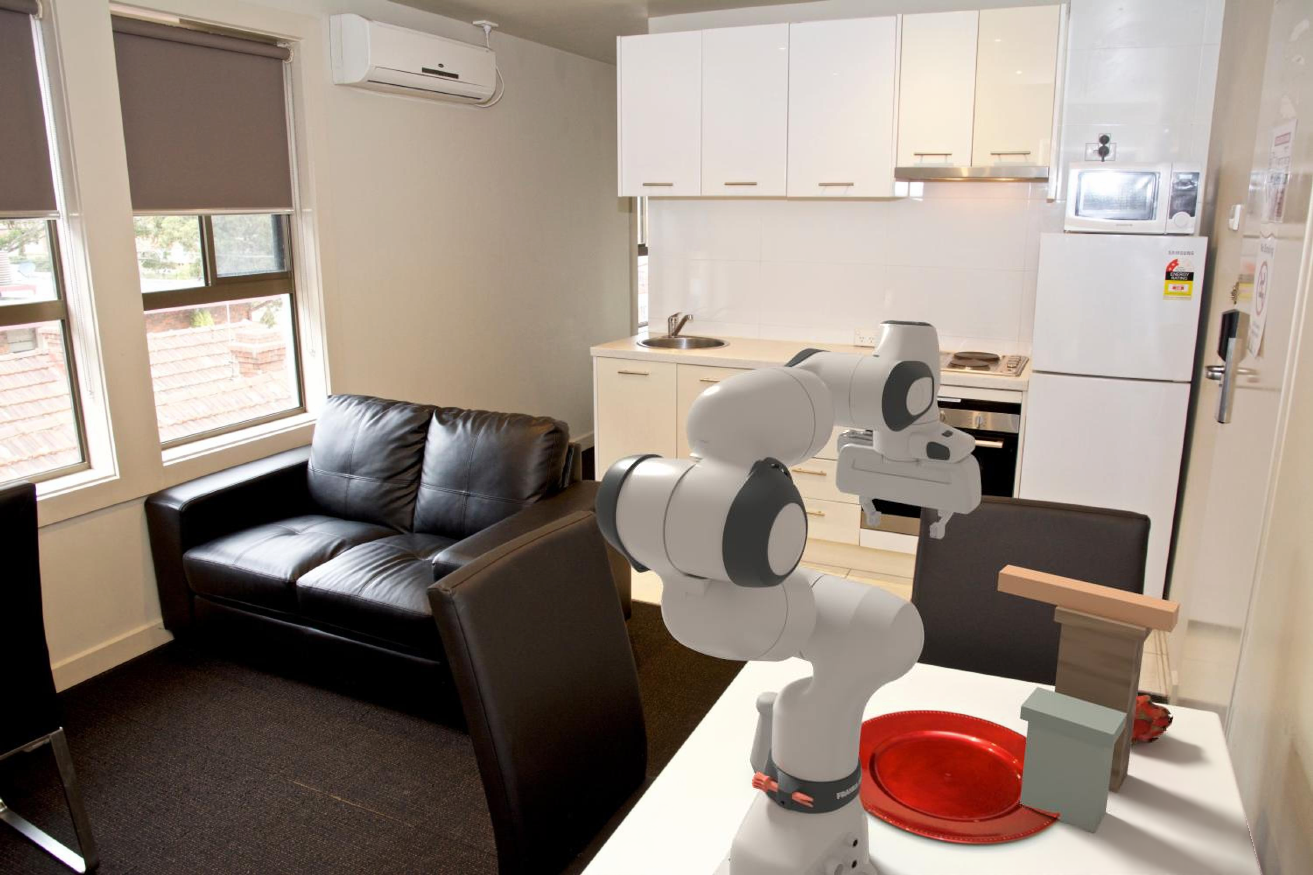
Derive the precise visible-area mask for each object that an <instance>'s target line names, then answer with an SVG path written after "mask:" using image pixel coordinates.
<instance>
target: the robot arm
mask: <svg viewBox="0 0 1313 875" xmlns="http://www.w3.org/2000/svg"><path fill="white" fill-rule="evenodd" d="M875 335H876V336H875V343H874V350H873V351H872V352H871V354H865V353H852V352H851V353H850V352H837V351H830V350H826V349H818V348H812V347H809V348H805V349H803V350H801V351H799V352H798V353H796V355H794V356H793V357H792V358H791V359H789V361H788V362H787V363H785V364H784V365H782V366H768V367H761V368H757V369H752V370H749V371H744V372H741V373H737V374H735V375H731V376H730V377H727V378H725V379H723V380H720V381H718V382H716V383H714V384H713V385H711V386H709V387H707V388H706V389H704V390H703V391H702V392H701V393H700V394H699V395H698V396H697V397H696V398H695V399H694V401H693V402H692V404H691V406H690V408H689V411H688V413H687V417H686V426H685V428H686V429H685V430H686V432H685V433H686V438H687V442H688V445H689V447H690V450H691V452H690V454H689V458H692V459H686V458H685V459H684V458H676V457H675V458H673V457H664V456H661V455H659V454H656V453H644V454H643V453H642V454H641V453H640V454H634V455H628V456H625V457H623V458H620V459H618V460H617V461H615V462H614V463H613V464H611V466H610V467H609V468H608V469H607V471H606V472H605V473H604V475H603V476H602V479H601V481H600V483H599V485H598V489H597V492H596V497H595V516H596V522H597V525H598V528H599V530H600V532H601V534H602V535H603V537H604V539H605V540H606V541H607V542H608V543H609V544H610V545H611V546H612V547H613V548H614V549H615V550H617V552H619V553H620V554H621V555H623V556H624V557H625V559H627V561H628V563H629V565H630V566H631V567H632V568H633V569H634V570H635V571H636V573H638V574H643V573H647V572H649V571H650V572H654V573H655V574H656V575H657V576H658V577H659V578H660V580H661V583H662V592H661V600H660V602H661V603H660V610H661V615H662V619H663V622H664V625H665V627H666V628H667V630H668V632H669V633H670V634H671V636H672V637H673V638H674V639H675V640H677V642H679V643H680V644H681V645H683V646H685V647H687V648H689V649H692V650H694V651H696V652H698V653H701V654H704V655H707V656H710V657H715V658H717V659H725V660H731V661H740V662H741V661H743V662H744V661H746V662H747V661H748V662H750V661H751V662H770V663H771V662H773V663H775V662H784V661H786V660H789V659H790V658H792V657H793V658H797V659H799V660H803V661H806V662H808V663H810V664H811V666H812V669H813V671H812V672H813V673H812V675H811V676H805V677H801V678H798V679H796V680H793V681H791V682H789V683H788V684H786V685H785V686H784V687H782V688H781V690H780V691H779V692H778V693H779V694H778V695H777V697H776V699H775V702H774V704H773V722H772V747H771V749H770V751H769V754H768V758H767V760H766V763H765V767H764V768H765V771H764V774H762V773H760V772H757V773H756V774H755V773H754V775H753V777H752V779H751V786H752V787H753V788H754V789H756V790H758V792H757V794H756V795H755V798H754V799H753V801H752V802H751V805H750V807H749V808H748V810H747V812H746V813H745V816H744V818H743V819H742V821H741V824H740V825H739V827H738V830H736V833H735V835H734V836H733V839H732V842H731V847H730V849H729V850H728V851H727V853H726V855H724V858H723V859H721V861H720V862H719V864H718V866H717V868H715V870H714V872H713V873H712V875H878V871H877V870H876V868H875V867H874V866H873V864H872V862H871V861H870V847H869V846H870V843H869V842H870V841H869V839H870V838H869V820H868V816H867V813H866V811H865V808H864V806H863V803H862V801H861V797H860V791H861V787H862V786H861V784H862V779H863V768H862V760H861V757H860V755H859V754H860V753H859V752H860V740H861V731H862V725H863V724H862V723H863V717H864V712H865V710H866V707H867V705H868V703H869V701H870V699H871V698H872V696H873V695H874V694H875V693H876V692H877V691H878V690H879V689H881V688H882V687H884V686H885V685H887V684H889V683H893V682H895V681H898V680H899V679H901V678H902V677H904V676H905V675H907V674H908V673H909V672H910V671H911V670H912V669H913V667H915V665H916V664H917V662H918V660H919V659H920V656H921V654H922V651H923V649H924V643H925V642H924V641H925V630H924V629H925V628H924V624H923V620H922V618H921V615H920V612H919V610H918V609H917V607H916V606H915V605H914V603H913V602H911V601H908V600H907V599H904V598H902V597H901V596H899V595H897V594H895V593H892V592H891V591H888V590H886V589H884V588H883V587H880V586H877V585H872V584H869V583H865V582H862V581H861V582H860V581H857V580H853V579H850V578H846V577H842V576H838V575H834V574H830V573H826V572H823V571H818V570H814V569H812V568H807V567H804V566H803V567H802V566H799V564H800V561H801V560H802V558H803V555H804V552H805V550H806V549H805V548H806V544H807V540H808V534H809V520H808V513H807V511H806V507H805V504H804V500H803V497H802V495H801V493H800V491H799V489H798V487H797V486H796V484H795V483H794V479H793V476H792V474H791V472H790V470H789V468H791V467H794V466H797V465H800V464H802V463H804V462H805V463H806V462H807V461H809V460H810V459H812V458H814V457H815V456H816V455H818V454H819V453H820V452H822V450H823V449H824V448H825V447H826V445H827V444H828V442H829V440H830V439H831V436H832V433H833V430H834V427H836V426H837V427H843V428H849V429H846V430H845V431H842V432H841V433H840V434H839V435H838V436H837V439H836V449H837V450H836V451H837V454H838V457H837V462H836V470H835V480H834V481H835V482H834V483H835V486H836V488H837V489H838V491H839V492H840V493H843V494H848V495H854V496H858V502H859V504H860V506H861V508H862V511H864V512H863V513H865V515H866V525H867V526H870V527H871V526H872V527H878V526H880V525H881V524H882V519H881V518H882V512H881V511H877V510H876V507H875V505H874V503H873V501H872V500H874V499H878V500H883V501H888V502H894V503H900V504H901V503H902V504H904V505H905V504H906V505H912V506H918V507H923V508H927V509H928V508H930V509H934V510H937V516H938V517H941V518H940V520H939V521H938V522H937V521H934V522H933V523H932V524H931V525H929V531H930V533H929V537H930V538H932V539H933V538H934V539H938V540H942V539H943V538H944V537H945V534H946V525H947V523H948V522H949V520H950V519H951V517H952V516H953V515H954V513H958V514H963V515H968V514H969V513H971V512H973V511H974V510H975V509H976V508H977V507H978V506H979V505H980V504H981V500H982V483H981V482H982V481H981V478H982V477H981V470H980V465H979V461H978V460H977V458H976V457H975V455H973V454H972V452H973V451H974V450H975V449H976V439H975V437H974V436H973V435H972V434H969V433H967V432H964V431H962V430H960V429H958V428H955V427H954V426H950V425H949V424H946V423H944V422H943V421H940V420H941V417H940V416H941V415H940V414H941V412H940V409H939V406H938V394H939V391H940V389H941V378H942V377H941V372H942V371H941V353H940V352H941V351H940V342H939V337H938V333H937V329H936V327H935V325H932V324H931V323H929V322H925V321H910V320H893V319H892V320H885V321H882V322H881V323H879V324H878V327H877V330H876V334H875ZM857 429H860V430H857ZM862 430H863V431H862ZM693 459H695V460H693Z"/></svg>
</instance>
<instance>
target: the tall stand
mask: <svg viewBox="0 0 1313 875" xmlns="http://www.w3.org/2000/svg"><path fill="white" fill-rule="evenodd" d="M1053 622H1056V623H1060V624H1061V626H1060V628H1061V629H1060V636H1059V647H1058V656H1057V664H1056V666H1057V667H1056V674H1055V675H1056V676H1055V683H1054V692H1056V693H1060V694H1063V695H1067V696H1070V697H1073V698H1077V699H1080V700H1083V701H1087V702H1090V703H1093V704H1097V705H1100V706H1103V707H1107V708H1110V709H1114V710H1117V711H1120V712H1124V713H1127V717H1126V725H1125V728H1124V730H1123V731H1122V733H1121V734H1120V736H1119V738H1118V739H1117V741H1116V742H1115V744H1114V750H1113V759H1112V767H1111V775H1110V783H1109V791H1112V792H1115V793H1118V791H1119V789H1120V788H1121V786H1122V785H1123V782H1124V781H1125V779H1126V777H1127V776H1128V772H1129V765H1130V764H1129V763H1130V755H1131V749H1132V748H1131V747H1132V744H1131V743H1132V742H1131V741H1132V734H1133V726H1134V718H1135V710H1136V702H1137V695H1138V692H1139V685H1140V678H1141V670H1142V664H1143V663H1142V662H1143V657H1144V656H1143V655H1144V647H1145V641H1146V640H1147V639H1148V637H1149V636H1150V634H1151V633H1152V632H1153V631H1154V630H1155V629H1154V628H1150V627H1146V626H1142V625H1137V624H1133V623H1129V622H1125V621H1121V620H1117V619H1113V618H1109V617H1105V616H1100V615H1096V614H1092V613H1088V612H1084V611H1080V610H1076V609H1072V608H1068V607H1064V606H1059V605H1056V607H1055V608H1054V617H1053ZM1138 696H1139V695H1138Z"/></svg>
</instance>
